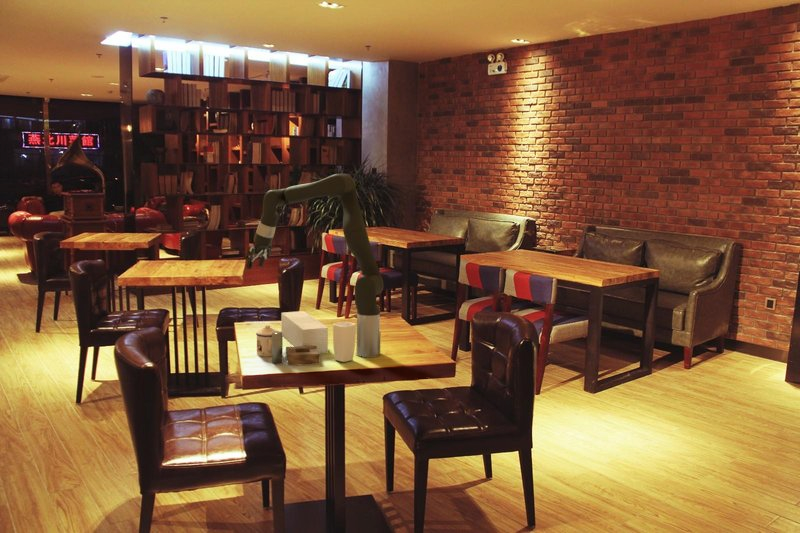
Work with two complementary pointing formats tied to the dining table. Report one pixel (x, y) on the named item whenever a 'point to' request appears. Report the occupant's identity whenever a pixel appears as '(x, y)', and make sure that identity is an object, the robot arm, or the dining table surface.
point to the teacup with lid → (265, 341)
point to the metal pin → (277, 347)
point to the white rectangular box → (304, 330)
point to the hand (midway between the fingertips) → (254, 267)
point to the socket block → (302, 355)
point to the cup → (344, 341)
